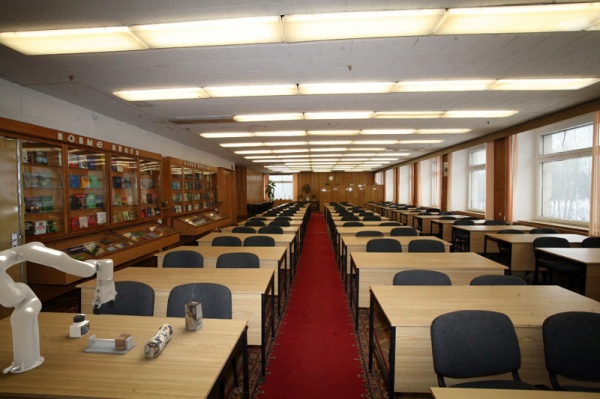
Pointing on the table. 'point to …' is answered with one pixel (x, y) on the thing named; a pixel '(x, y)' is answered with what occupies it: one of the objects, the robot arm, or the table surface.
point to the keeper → (121, 341)
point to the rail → (108, 345)
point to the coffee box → (193, 315)
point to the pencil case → (158, 341)
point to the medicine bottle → (79, 326)
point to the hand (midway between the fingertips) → (104, 311)
